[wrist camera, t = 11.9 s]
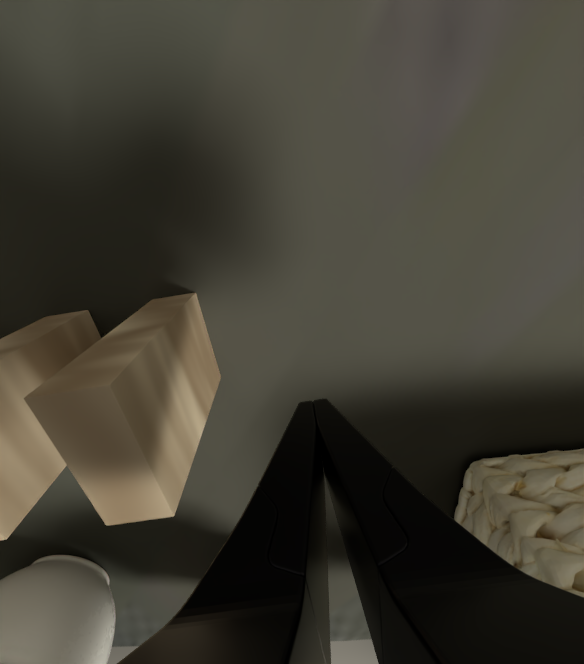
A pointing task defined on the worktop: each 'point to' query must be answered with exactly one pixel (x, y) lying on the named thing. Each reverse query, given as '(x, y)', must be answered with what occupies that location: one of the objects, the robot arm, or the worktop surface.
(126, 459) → the domino
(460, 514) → the storage basket
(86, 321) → the domino
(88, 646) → the lidded jar
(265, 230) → the worktop surface
